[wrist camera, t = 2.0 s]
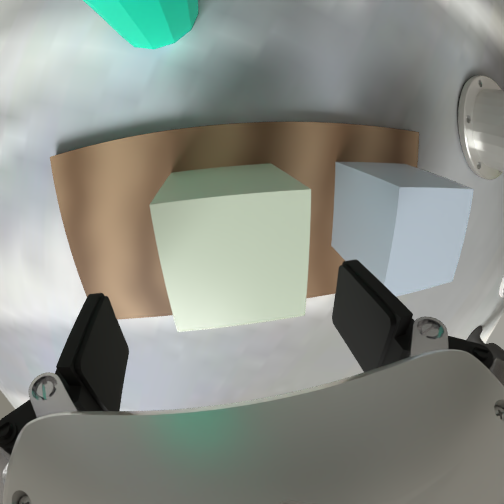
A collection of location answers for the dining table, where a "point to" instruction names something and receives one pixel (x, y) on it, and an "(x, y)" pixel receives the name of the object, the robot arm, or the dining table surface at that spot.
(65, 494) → the robot arm
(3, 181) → the dining table surface
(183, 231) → the pale green block
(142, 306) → the board
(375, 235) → the blue cover
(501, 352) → the sundae
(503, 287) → the decorative candle
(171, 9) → the candle
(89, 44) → the dining table surface
